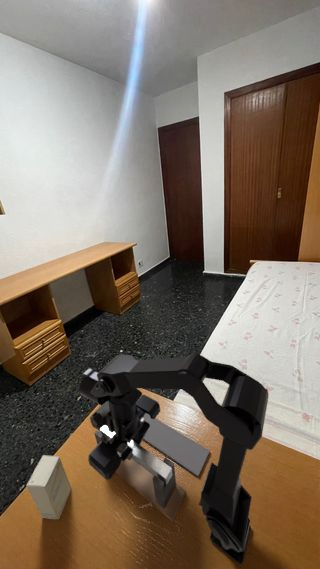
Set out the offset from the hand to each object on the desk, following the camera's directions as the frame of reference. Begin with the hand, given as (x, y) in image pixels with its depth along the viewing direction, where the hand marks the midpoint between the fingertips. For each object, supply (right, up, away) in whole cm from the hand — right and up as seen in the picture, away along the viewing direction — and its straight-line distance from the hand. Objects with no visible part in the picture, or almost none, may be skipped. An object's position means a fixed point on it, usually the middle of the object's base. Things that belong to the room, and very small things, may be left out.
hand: (132, 453), depth 56 cm
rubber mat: (+7, -3, +11) cm, 13 cm away
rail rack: (+1, -7, +3) cm, 7 cm away
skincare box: (-18, -10, -2) cm, 21 cm away
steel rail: (0, +1, 0) cm, 1 cm away
